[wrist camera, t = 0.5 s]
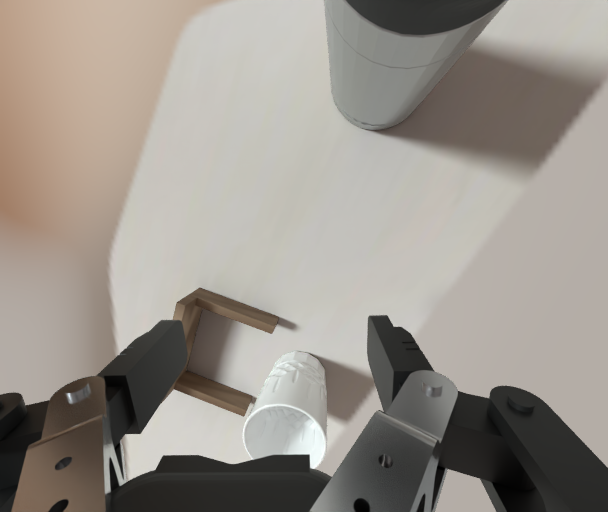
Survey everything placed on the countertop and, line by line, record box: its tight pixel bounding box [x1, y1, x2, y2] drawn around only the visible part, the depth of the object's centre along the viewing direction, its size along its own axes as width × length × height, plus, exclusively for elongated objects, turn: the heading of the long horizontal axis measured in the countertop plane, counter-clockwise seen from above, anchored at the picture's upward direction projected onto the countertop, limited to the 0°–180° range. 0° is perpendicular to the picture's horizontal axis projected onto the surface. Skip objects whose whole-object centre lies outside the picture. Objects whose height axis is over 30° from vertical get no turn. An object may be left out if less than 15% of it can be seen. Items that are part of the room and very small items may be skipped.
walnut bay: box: [161, 288, 279, 416], centre depth 34 cm, size 13×10×5 cm
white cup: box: [243, 351, 327, 469], centre depth 31 cm, size 8×8×10 cm
